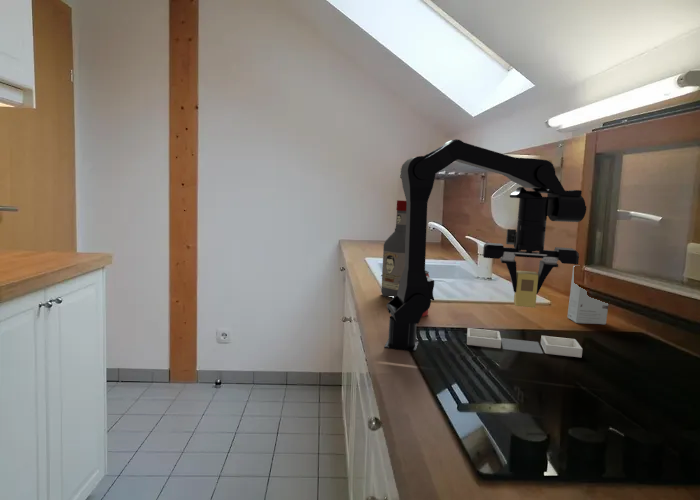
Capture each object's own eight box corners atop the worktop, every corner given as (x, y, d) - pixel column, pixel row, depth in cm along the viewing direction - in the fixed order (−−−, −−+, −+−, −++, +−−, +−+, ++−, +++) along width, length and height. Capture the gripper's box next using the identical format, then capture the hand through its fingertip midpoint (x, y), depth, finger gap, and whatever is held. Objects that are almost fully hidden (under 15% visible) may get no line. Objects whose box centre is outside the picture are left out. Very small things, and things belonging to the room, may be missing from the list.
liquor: (395, 291, 159) (400, 200, 155) (417, 296, 153) (423, 201, 149) (377, 295, 152) (382, 199, 149) (400, 300, 146) (405, 201, 143)
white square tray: (581, 359, 99) (582, 348, 99) (545, 355, 101) (546, 344, 101) (574, 348, 106) (575, 339, 106) (540, 345, 108) (541, 335, 108)
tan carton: (535, 307, 102) (538, 275, 101) (515, 305, 103) (518, 273, 102) (532, 303, 106) (535, 272, 105) (513, 301, 107) (516, 270, 106)
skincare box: (576, 323, 128) (581, 268, 126) (566, 317, 134) (571, 264, 132) (607, 325, 128) (614, 269, 126) (596, 319, 134) (602, 266, 132)
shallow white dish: (500, 350, 103) (501, 340, 103) (466, 346, 105) (467, 336, 104) (498, 340, 110) (499, 331, 110) (466, 337, 112) (467, 327, 111)
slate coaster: (543, 355, 101) (543, 353, 101) (503, 351, 103) (503, 348, 102) (537, 344, 108) (537, 342, 108) (500, 340, 110) (500, 338, 110)
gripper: (571, 221, 108) (564, 289, 110) (484, 216, 112) (479, 282, 114) (582, 223, 97) (575, 300, 99) (486, 218, 101) (481, 291, 103)
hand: (525, 292), depth 104 cm, fingers closed on tan carton, 4 cm apart
